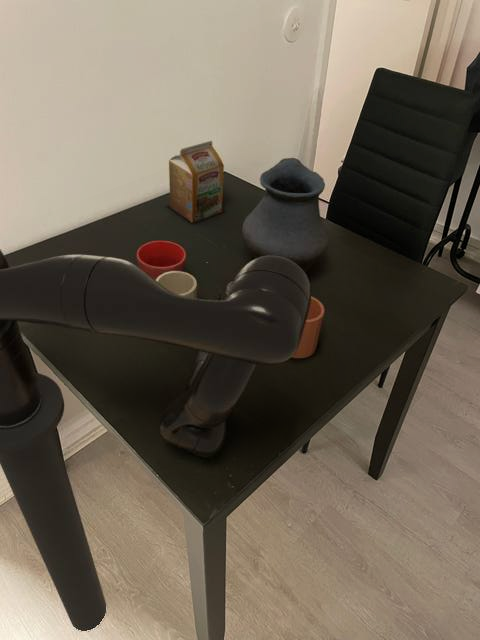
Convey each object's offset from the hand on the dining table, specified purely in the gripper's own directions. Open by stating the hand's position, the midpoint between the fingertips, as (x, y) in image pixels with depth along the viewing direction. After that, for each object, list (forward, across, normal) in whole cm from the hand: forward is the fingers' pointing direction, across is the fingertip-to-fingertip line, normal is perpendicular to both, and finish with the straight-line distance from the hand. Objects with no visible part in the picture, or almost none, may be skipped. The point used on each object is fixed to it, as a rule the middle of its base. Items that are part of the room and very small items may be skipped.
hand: (238, 302), depth 104 cm
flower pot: (+8, +19, +7) cm, 22 cm away
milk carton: (+46, +23, +7) cm, 52 cm away
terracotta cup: (-2, -13, +7) cm, 15 cm away
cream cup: (-1, +13, +7) cm, 15 cm away
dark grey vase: (+25, -6, +7) cm, 27 cm away
